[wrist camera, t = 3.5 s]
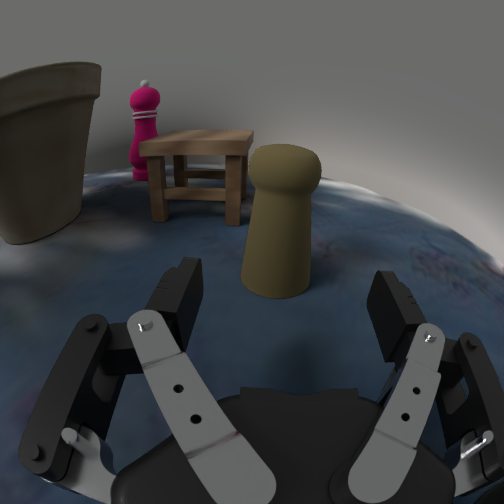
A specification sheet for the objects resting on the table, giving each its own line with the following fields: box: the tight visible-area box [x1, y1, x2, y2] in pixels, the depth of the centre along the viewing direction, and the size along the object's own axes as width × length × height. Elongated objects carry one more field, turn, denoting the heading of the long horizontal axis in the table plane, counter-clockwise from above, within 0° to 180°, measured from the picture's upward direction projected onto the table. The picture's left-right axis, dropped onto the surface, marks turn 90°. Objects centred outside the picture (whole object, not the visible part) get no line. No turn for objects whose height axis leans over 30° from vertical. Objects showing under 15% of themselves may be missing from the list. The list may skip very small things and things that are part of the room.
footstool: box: [139, 130, 254, 226], centre depth 34 cm, size 12×12×10 cm
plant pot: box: [0, 62, 101, 244], centre depth 27 cm, size 25×25×22 cm
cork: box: [240, 144, 322, 299], centre depth 21 cm, size 6×6×11 cm
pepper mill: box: [129, 80, 165, 181], centre depth 46 cm, size 7×7×20 cm
